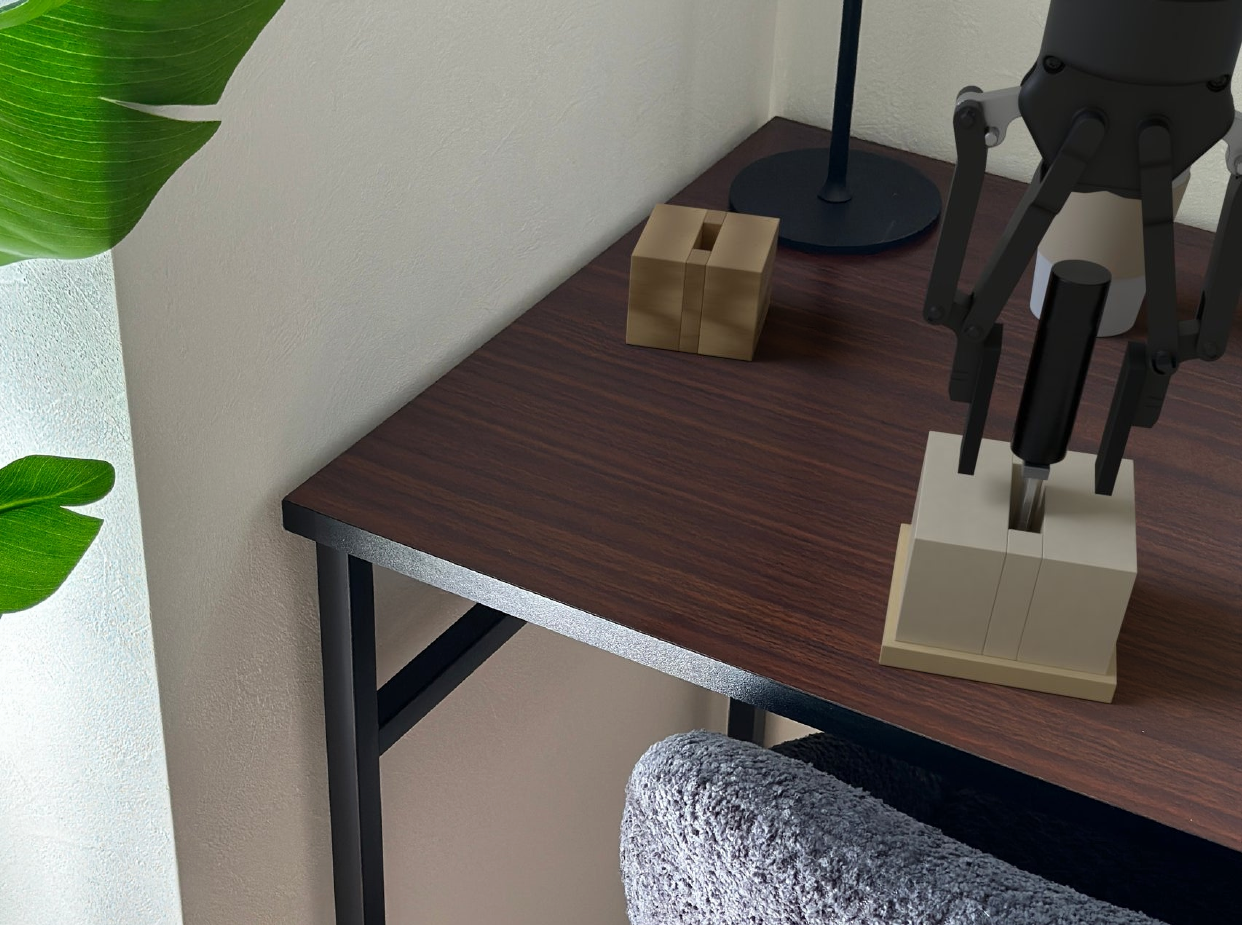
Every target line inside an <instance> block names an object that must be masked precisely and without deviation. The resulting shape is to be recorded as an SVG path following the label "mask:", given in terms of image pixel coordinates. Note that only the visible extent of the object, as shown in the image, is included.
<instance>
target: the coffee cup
mask: <svg viewBox="0 0 1242 925" xmlns="http://www.w3.org/2000/svg"><path fill="white" fill-rule="evenodd" d="M1192 166H1193V164H1192V165H1191V166H1190V167H1189V168H1188V169H1186V170H1185V171H1184V172H1183V173H1182V174H1181V175H1179V176H1178V177H1177V178H1176V179H1175V180H1174V181H1173V182H1172V194H1173V224H1175V220H1176V217H1177V214H1178V212H1179V209H1180V207H1181V204H1182V201H1183V198H1184V196H1185V193H1186V191H1187V189H1188V188H1187V187H1188V186H1189V182H1190V180H1191V176H1192V173H1191V170H1192ZM1069 259H1078V260H1086V261H1090V262H1094V263H1097V264H1100V265H1102V266H1104V267H1105V268H1107V269H1108V270H1109V271H1110V272H1111V274H1112V281H1111V285H1110V289H1109V292H1108V296H1107V300H1106V304H1105V308H1104V312H1103V316H1102V320H1101V323H1100V327H1099V331H1098V335H1097V338H1102V337H1103V338H1104V337H1105V338H1106V337H1112V336H1118V335H1121V334H1124V333H1126V332H1128V331H1129V330H1131V329H1132V328H1133V327H1134V325H1135V323H1136V319H1137V317H1138V314H1139V311H1140V309H1141V306H1142V303H1143V300H1144V298H1145V296H1146V283H1145V263H1144V243H1143V224H1142V204H1141V200H1136V199H1128V198H1123V197H1120V196H1118V195H1115V194H1113V193H1110V192H1107V191H1101V192H1093V193H1077V192H1071V194H1070V196H1069V197H1068V199H1067V201H1066V203H1065V204H1064V206H1063V208H1062V210H1061V211H1060V213H1059V214H1057V215H1056V216H1055V218H1054V219H1053V221H1052V223H1051V225H1050V226H1049V228H1048V230H1047V232H1046V234H1045V235H1044V237H1043V239H1042V241H1041V242H1040V244H1039V246H1038V248H1037V254H1036V261H1035V268H1034V275H1033V281H1032V288H1031V295H1030V301H1029V302H1030V303H1029V308H1030V311H1031V312H1032V314H1033V315H1034V316H1035V317H1036V319H1038V320H1039V319H1040V314H1041V310H1042V306H1043V301H1044V297H1045V293H1046V289H1047V284H1048V280H1049V276H1050V271H1051V268H1052V266H1053V265H1054V264H1055V263H1057V262H1059V261H1062V260H1069Z"/></svg>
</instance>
